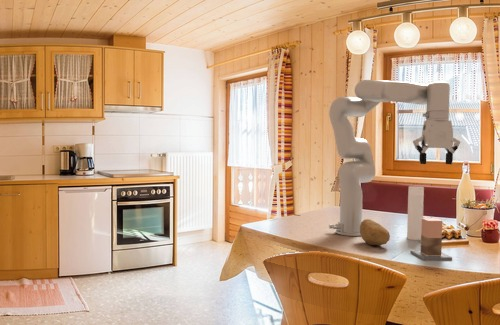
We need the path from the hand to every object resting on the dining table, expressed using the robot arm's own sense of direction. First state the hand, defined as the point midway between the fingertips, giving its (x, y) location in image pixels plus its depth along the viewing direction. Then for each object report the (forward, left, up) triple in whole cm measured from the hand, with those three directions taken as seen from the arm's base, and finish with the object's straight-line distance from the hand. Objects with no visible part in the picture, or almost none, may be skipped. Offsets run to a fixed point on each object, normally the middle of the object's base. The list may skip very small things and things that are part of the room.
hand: (435, 164), depth 159 cm
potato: (-18, +12, -32) cm, 39 cm away
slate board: (-4, -6, -32) cm, 33 cm away
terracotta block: (-4, -6, -25) cm, 26 cm away
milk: (+4, +23, -32) cm, 40 cm away
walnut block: (-4, -6, -31) cm, 32 cm away
